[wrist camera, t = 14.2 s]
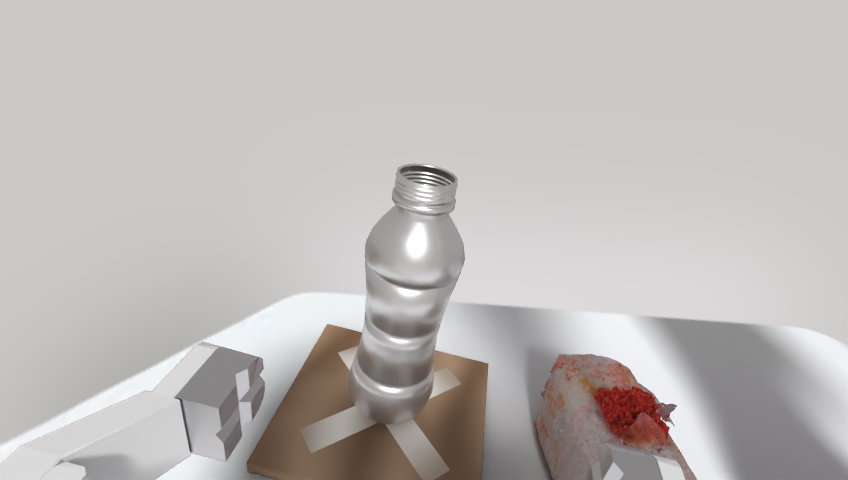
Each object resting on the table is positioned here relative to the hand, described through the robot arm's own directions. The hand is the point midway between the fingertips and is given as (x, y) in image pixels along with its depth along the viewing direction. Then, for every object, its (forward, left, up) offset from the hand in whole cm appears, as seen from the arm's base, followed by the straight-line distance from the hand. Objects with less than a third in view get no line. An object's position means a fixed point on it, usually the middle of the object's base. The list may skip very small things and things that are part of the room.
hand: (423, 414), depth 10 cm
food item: (-14, -15, -22) cm, 30 cm away
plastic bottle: (+3, -18, -21) cm, 28 cm away
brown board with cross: (+3, -17, -22) cm, 28 cm away
